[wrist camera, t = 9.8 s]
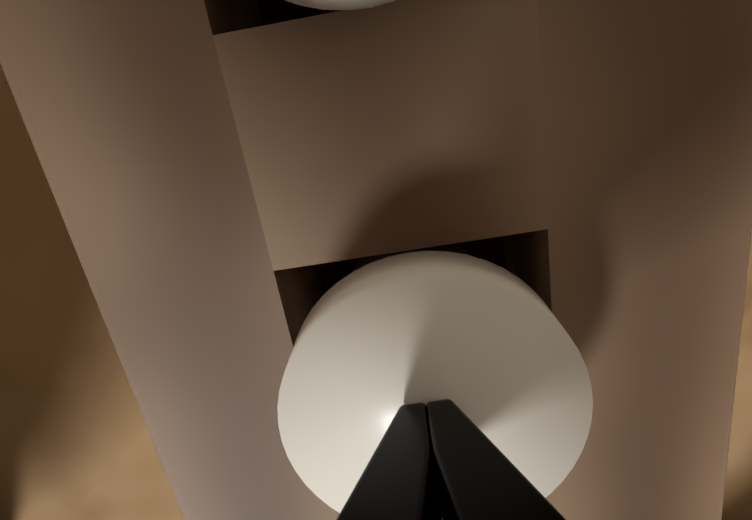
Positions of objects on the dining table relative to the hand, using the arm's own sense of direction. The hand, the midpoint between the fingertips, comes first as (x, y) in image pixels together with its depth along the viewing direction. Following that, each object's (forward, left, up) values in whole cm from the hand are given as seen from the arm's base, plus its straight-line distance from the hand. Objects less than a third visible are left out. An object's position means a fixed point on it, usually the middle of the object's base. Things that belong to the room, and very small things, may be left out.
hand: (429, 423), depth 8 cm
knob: (0, 0, -5) cm, 5 cm away
